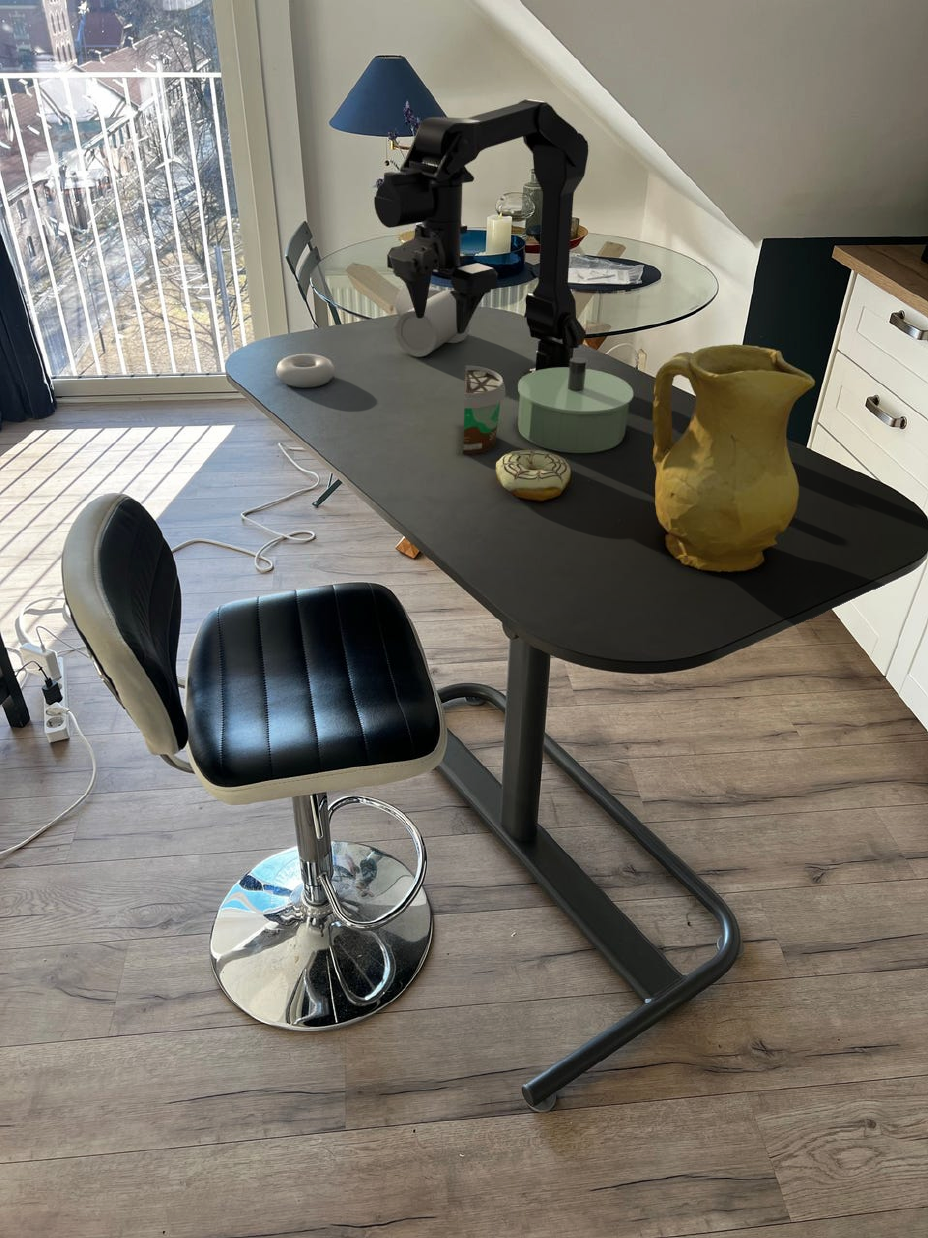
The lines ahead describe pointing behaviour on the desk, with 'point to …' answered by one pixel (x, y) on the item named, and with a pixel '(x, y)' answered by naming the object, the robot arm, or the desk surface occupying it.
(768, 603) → the desk surface
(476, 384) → the food container
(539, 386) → the lid
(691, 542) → the pitcher
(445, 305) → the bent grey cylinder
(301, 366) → the donut
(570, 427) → the pot
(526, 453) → the decorated donut
